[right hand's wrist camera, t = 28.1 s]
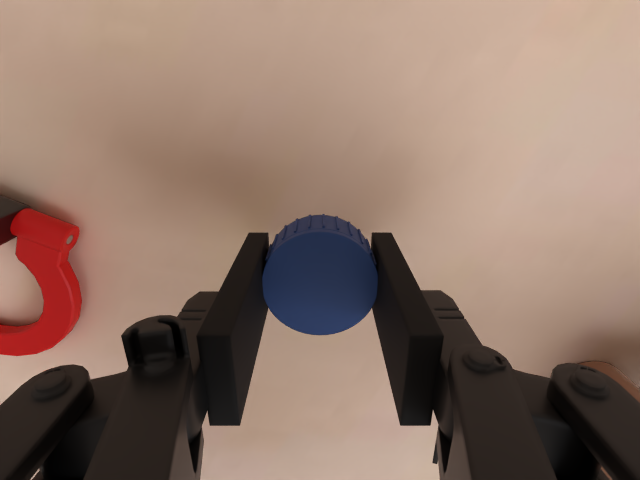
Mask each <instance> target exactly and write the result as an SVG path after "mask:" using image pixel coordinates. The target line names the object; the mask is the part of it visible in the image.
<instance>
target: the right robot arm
mask: <svg viewBox="0 0 640 480" xmlns="http://www.w3.org/2000/svg"><path fill="white" fill-rule="evenodd" d="M268 249H269V237H268V233H249V234H248V236H247V237H246V239H245V241H244V243H243V245H242V247H241V249H240V251H239V253H238V255H237V257H236V259H235V261H234V263H233V265H232V267H231V269H230V271H229V273H228V275H227V277H226V279H225V281H224V282H223V284H222V286H221V288H220V290H219V292H199V293H197V294H196V295H194V296H193V297H192V298H190V299H189V300H188V301H187V302H186V304H185V305H184V307H183V309H182V312H180V313H179V315H178V316H177V317H175V316H171V315H159V316H154V317H149V318H146V319H144V320H141V321H139V322H136V323H135V324H133V325H132V326H130V327H129V328H127V329H126V330H125V332H124V333H123V334H122V335H121V337H122V341H123V345H124V349H125V353H126V357H127V361H128V366H129V367H128V369H127V371H125V372H122V373H118V374H114V375H110V376H105V377H101V378H96V379H91V380H90V376H89V373H88V371H87V370H86V369H85V368H84V367H83V366H78V365H64V366H58V367H54V368H51V369H48V370H46V371H44V372H42V373H40V374H38V375H36V376H34V377H32V378H31V379H29V380H28V381H27V382H25V383H24V384H23V385H21V386H20V387H19V388H18V389H17V390H16V391H15V392H14V393H13V394H12V395H11V396H10V397H9V398H8V399H6V400H5V401H4V402H3V403H2V404H1V405H0V480H30V479H31V478H32V476H33V475H34V474H35V473H36V471H37V470H38V469H40V471H39V472H38V473H37V474H36V476H35V477H34V478H33V479H32V480H200V475H201V465H202V455H203V444H204V438H203V432H202V424H203V421H204V418H205V415H206V413H207V410H208V417H209V423H210V426H240V423H241V419H242V414H243V410H244V406H245V402H246V398H247V394H248V390H249V385H250V381H251V377H252V373H253V369H254V365H255V361H256V356H257V352H258V348H259V344H260V340H261V336H262V332H263V327H264V323H265V319H266V315H267V311H268V306H267V304H266V302H265V299H264V296H263V281H262V274H263V270H264V267H265V264H266V261H265V258H266V255H267V252H268ZM371 250H372V251H373V254H374V257H375V260H376V263H377V266H376V269H377V273H378V285H377V297H376V300H375V302H374V305H373V307H372V310H373V314H374V318H375V322H376V327H377V331H378V335H379V339H380V343H381V347H382V351H383V356H384V360H385V364H386V368H387V372H388V376H389V380H390V385H391V389H392V393H393V397H394V401H395V405H396V409H397V413H398V418H399V422H400V426H430V425H431V418H432V412H433V410H434V413H435V416H436V419H437V421H438V424H439V426H438V432H437V438H436V444H435V450H434V456H433V463H435V464H437V462H438V464H439V474H440V480H610V479H609V478H608V477H607V476H606V475H605V473H604V472H603V471H602V469H601V468H602V467H603V468H604V470H605V471H606V472H607V473H608V475H609V476H610V477H611V478H612V480H640V402H638V401H637V400H636V399H635V398H634V397H633V396H632V395H631V394H630V393H629V392H628V391H627V390H626V389H624V388H623V387H622V386H621V385H620V384H619V383H618V382H616V381H615V380H614V379H612V378H611V377H610V376H608V375H606V374H604V373H602V372H600V371H598V370H596V369H594V368H591V367H588V366H584V365H581V364H572V363H565V364H560V365H557V366H556V367H555V368H554V369H553V371H552V374H551V377H550V378H547V377H542V376H538V375H533V374H528V373H524V372H520V371H517V370H514V369H512V366H511V365H510V363H509V362H508V360H507V359H506V358H505V357H504V356H503V355H501V354H500V353H499V352H497V351H495V350H493V349H491V348H489V347H486V346H483V345H482V344H481V342H480V341H479V339H478V338H477V336H476V335H475V333H474V331H473V330H472V328H471V327H470V325H469V324H468V322H467V321H466V319H464V316H463V314H462V313H461V311H459V308H458V307H457V305H456V304H455V302H454V300H453V299H452V298H451V297H449V296H448V295H446V294H445V293H443V292H442V291H441V290H420V288H419V286H418V284H417V282H416V280H415V278H414V276H413V274H412V272H411V270H410V268H409V266H408V264H407V262H406V260H405V259H404V257H403V255H402V253H401V251H400V249H399V247H398V245H397V243H396V241H395V239H394V237H393V235H392V233H372V241H371Z"/></svg>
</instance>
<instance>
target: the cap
mask: <svg viewBox="0 0 640 480" xmlns="http://www.w3.org/2000/svg"><path fill="white" fill-rule="evenodd" d="M265 261H266V264H265V267H264V270H263V274H262V281H263V296H264V299H265V302H266V304H267V306H268V307H269V309H270V311H271V312H272V313H273V314H274V316H275V317H276V318H277V319H278V320H279V321H281V322H282V323H283V324H285V325H286V326H288V327H290V328H292V329H294V330H296V331H299V332H302V333H306V334H311V335H329V334H335V333H338V332H342V331H344V330H347V329H349V328H351V327H352V326H354V325H356V324H357V323H358V322H360V321H361V320H362V319H363V318H364V317H365V316H366V315H367V314H368V313H369V311H370V310H371V308H372V307H373V305H374V302H375V300H376V297H377V285H378V273H377V269H376V266H377V263H376V260H375V257H374V254H373V251H372V250H371V248H370V245H369V242H368V240H367V239H365V238H364V236H363V235H362V234H361V231H360V229H356V228H355V227H354V226H353V225H351V224H350V222H349V221H348V222H346V221H344V220H342V219H340V218H338V217H337V216H336V217H333V216H328V215H325V214H322V215H313V216H311V215H309V216H307V217H304V218H301V219H296V221H294V222H292V223H291V224H289V225H285V227H284V229H283V230H282V231H281V232H280V233H279V234H276V236H275V239H274V241H273V243H272V245H271V244H270V246H269V249H268V252H267V255H266V258H265Z"/></svg>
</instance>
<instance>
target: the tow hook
mask: <svg viewBox="0 0 640 480" xmlns="http://www.w3.org/2000/svg"><path fill="white" fill-rule="evenodd" d="M79 232H80V231H79V228H78V227H77V226H75V225H72V224H69V223H67V222H64V221H61V220H59V219H56V218H54V217H51V216H48V215H46V214H43V213H40V212H38V211H35V210H32V208H31V207H30V206H28V205H26V204H23V203H20V202H18V201H15V200H12V199H10V198H7V197H4V196H2V195H0V245H2V244H4V243H6V242H8V241H10V240H12V239H13V238H15V237H17V244H16V253H15V254H16V256H17V258H18V259H19V260H20V261H21V262H22V263H23V264H25V266H26V267H27V268H28V269H29V270H30V271H31V273H32V274H33V275H34V276H35V278H36V280H37V282H38V284H39V286H40V287H41V290H42V294H43V299H44V306H43V313H42V315H41V317H40V319H39V321H37V322H35V323H32V324H30V325H25V326H17V327H15V326H5V325H0V354H2V355H12V356H22V355H31V354H37V353H40V352H42V351H45V350H47V349H50V348H52V347H54V346H55V345H56V344H57V343H58V342H60V341H61V340H62V339H63V338H64V337H65V336H66V335H67V334H68V333H69V332H70V331H72V329H73V327H74V325H75V324H76V322H77V320H78V318H79V316H80V309H81V303H82V299H81V293H80V288H79V282H78V280H77V278H76V276H75V274H74V272H73V270H72V268H71V266H70V263H69V262H68V261H67V260H68V255H69V251H70V250H71V249H72V248H73V246H74V245H75V243H76V242H77V239H78V237H79Z"/></svg>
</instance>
